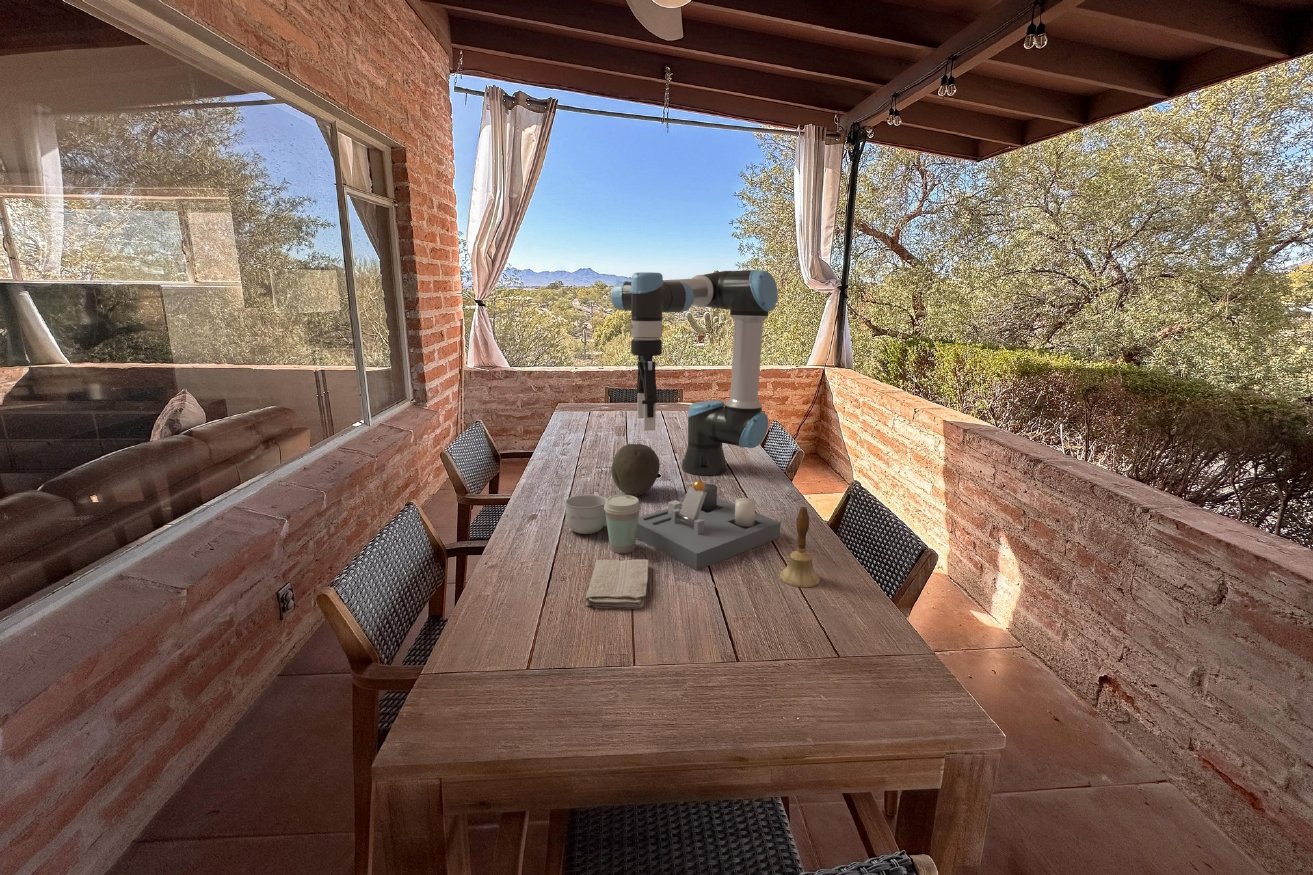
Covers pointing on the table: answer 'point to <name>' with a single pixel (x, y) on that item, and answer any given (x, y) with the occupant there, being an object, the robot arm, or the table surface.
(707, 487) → the dark gray button
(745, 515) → the cream button
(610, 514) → the coffee cup
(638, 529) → the panel
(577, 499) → the teacup
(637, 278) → the robot arm
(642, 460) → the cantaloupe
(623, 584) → the washcloth
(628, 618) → the table surface
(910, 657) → the table surface
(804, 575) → the hand bell
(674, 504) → the slider knob
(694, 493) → the lever
